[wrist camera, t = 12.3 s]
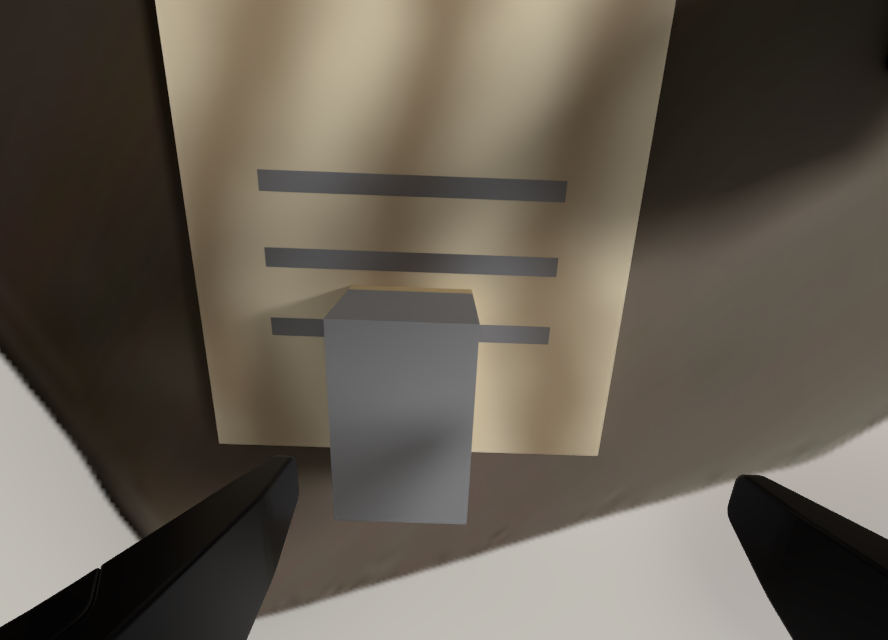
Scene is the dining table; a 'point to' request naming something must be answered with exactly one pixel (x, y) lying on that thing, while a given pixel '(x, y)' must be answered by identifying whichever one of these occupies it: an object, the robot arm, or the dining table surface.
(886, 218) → the dining table surface
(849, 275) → the dining table surface
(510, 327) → the plywood board
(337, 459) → the block
